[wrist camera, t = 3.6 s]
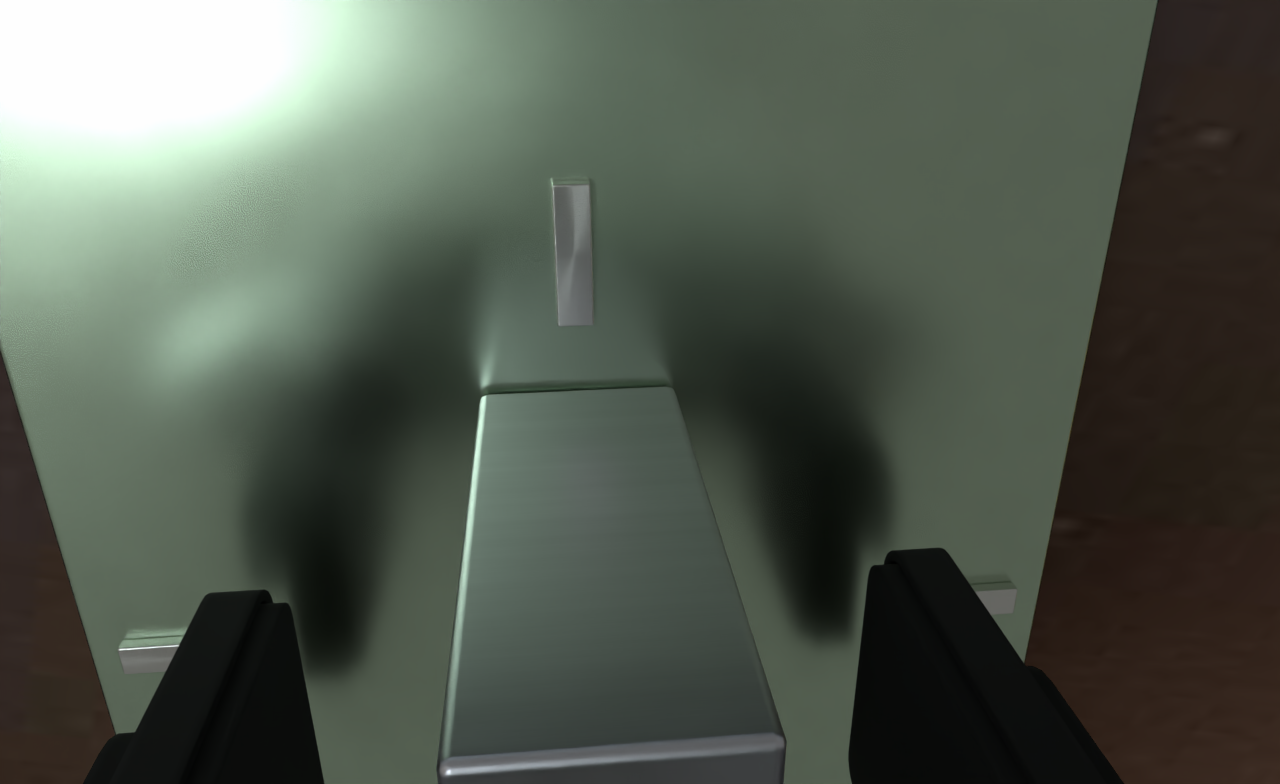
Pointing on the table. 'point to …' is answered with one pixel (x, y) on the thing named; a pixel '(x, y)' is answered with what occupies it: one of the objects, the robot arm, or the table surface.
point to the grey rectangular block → (599, 606)
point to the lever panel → (546, 304)
